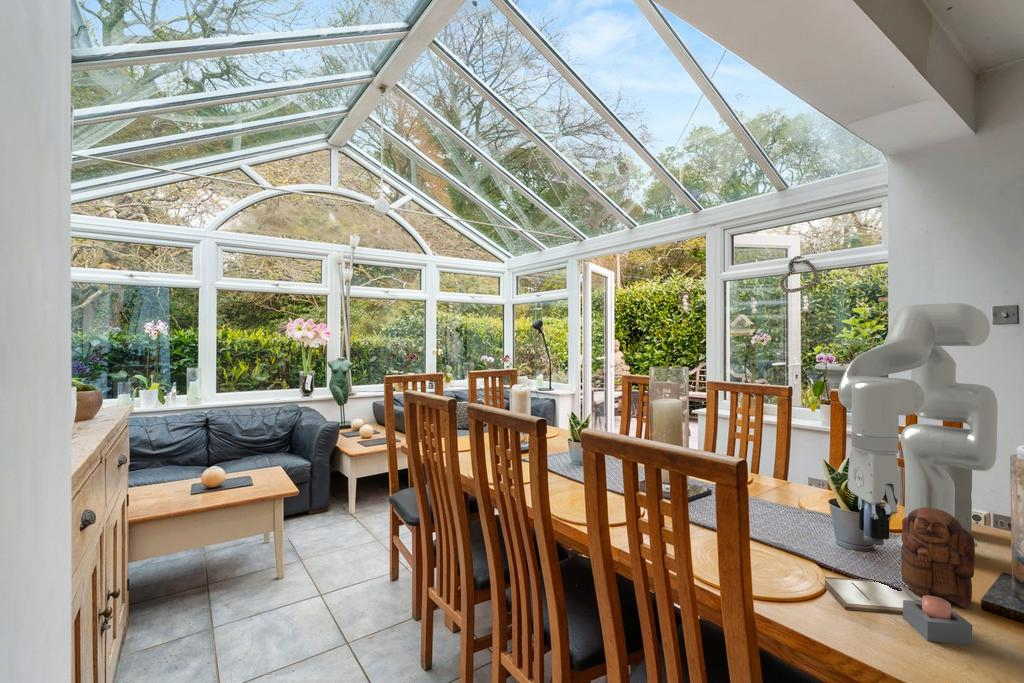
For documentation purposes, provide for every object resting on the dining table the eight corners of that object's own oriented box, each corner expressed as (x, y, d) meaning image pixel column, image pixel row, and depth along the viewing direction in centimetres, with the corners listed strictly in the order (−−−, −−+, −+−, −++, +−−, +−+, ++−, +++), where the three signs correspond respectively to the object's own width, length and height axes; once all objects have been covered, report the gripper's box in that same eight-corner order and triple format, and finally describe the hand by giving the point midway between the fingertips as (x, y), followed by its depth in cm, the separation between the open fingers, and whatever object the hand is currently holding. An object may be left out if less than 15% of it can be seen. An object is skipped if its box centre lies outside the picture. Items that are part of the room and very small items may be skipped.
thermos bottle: (958, 526, 137) (959, 427, 137) (979, 538, 129) (980, 433, 129) (925, 524, 139) (926, 426, 138) (944, 535, 131) (945, 432, 130)
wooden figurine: (897, 590, 104) (898, 506, 103) (901, 579, 108) (902, 499, 108) (973, 613, 95) (974, 522, 95) (975, 600, 100) (976, 513, 99)
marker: (877, 538, 99) (878, 499, 99) (887, 545, 96) (887, 505, 95) (860, 537, 99) (860, 499, 99) (869, 544, 96) (869, 504, 96)
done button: (940, 614, 91) (940, 596, 91) (956, 627, 87) (956, 608, 87) (916, 612, 92) (916, 594, 92) (931, 625, 88) (931, 606, 88)
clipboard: (897, 584, 106) (897, 579, 106) (935, 616, 94) (935, 610, 94) (817, 579, 109) (817, 573, 109) (844, 609, 97) (844, 603, 97)
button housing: (944, 621, 93) (944, 603, 92) (972, 644, 86) (972, 625, 86) (902, 617, 94) (902, 600, 94) (927, 640, 87) (927, 621, 87)
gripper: (833, 433, 106) (833, 517, 106) (877, 452, 89) (876, 551, 90) (872, 434, 104) (871, 519, 105) (923, 453, 88) (922, 554, 89)
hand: (873, 533), depth 97 cm, fingers closed on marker, 3 cm apart
